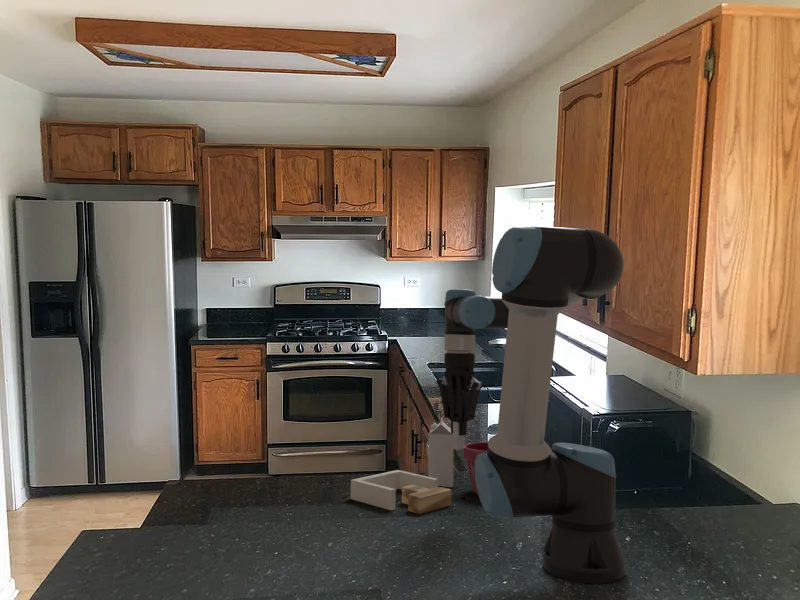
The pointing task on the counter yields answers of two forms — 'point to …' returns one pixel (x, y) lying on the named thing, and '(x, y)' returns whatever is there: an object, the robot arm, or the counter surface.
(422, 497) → the tee
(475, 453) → the plant pot
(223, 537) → the counter surface
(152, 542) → the counter surface
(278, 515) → the counter surface
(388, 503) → the bay
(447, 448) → the milk carton
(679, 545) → the counter surface
